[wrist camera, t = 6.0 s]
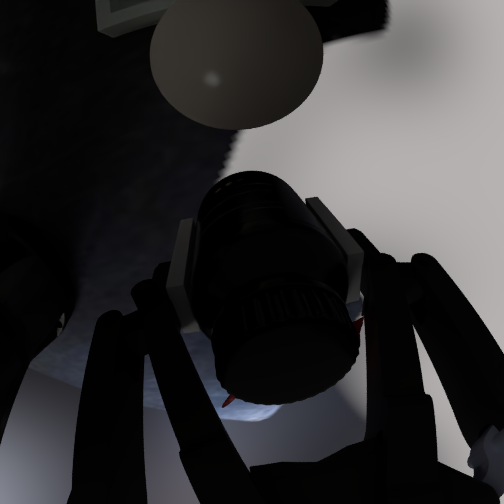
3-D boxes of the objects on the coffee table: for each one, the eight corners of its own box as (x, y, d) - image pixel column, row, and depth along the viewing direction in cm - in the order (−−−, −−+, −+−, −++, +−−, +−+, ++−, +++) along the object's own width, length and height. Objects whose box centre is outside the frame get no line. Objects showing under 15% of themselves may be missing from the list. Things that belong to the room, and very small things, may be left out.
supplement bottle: (314, 236, 20) (393, 375, 10) (228, 276, 21) (243, 432, 11) (276, 148, 17) (372, 245, 6) (177, 197, 18) (134, 348, 7)
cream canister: (190, 123, 19) (165, 144, 11) (176, 37, 15) (141, -3, 7) (284, 109, 19) (331, 120, 11) (271, 24, 15) (310, -24, 7)
